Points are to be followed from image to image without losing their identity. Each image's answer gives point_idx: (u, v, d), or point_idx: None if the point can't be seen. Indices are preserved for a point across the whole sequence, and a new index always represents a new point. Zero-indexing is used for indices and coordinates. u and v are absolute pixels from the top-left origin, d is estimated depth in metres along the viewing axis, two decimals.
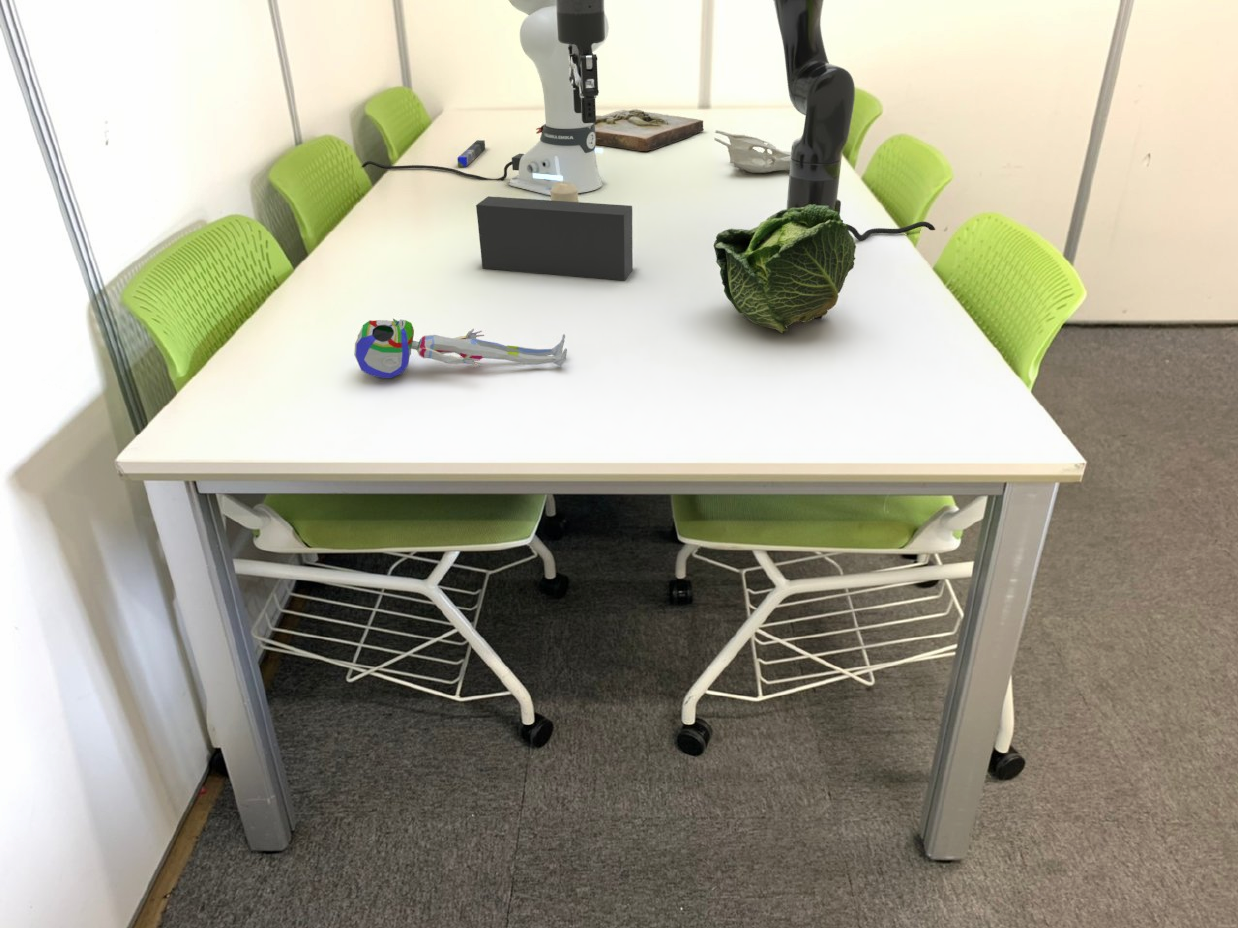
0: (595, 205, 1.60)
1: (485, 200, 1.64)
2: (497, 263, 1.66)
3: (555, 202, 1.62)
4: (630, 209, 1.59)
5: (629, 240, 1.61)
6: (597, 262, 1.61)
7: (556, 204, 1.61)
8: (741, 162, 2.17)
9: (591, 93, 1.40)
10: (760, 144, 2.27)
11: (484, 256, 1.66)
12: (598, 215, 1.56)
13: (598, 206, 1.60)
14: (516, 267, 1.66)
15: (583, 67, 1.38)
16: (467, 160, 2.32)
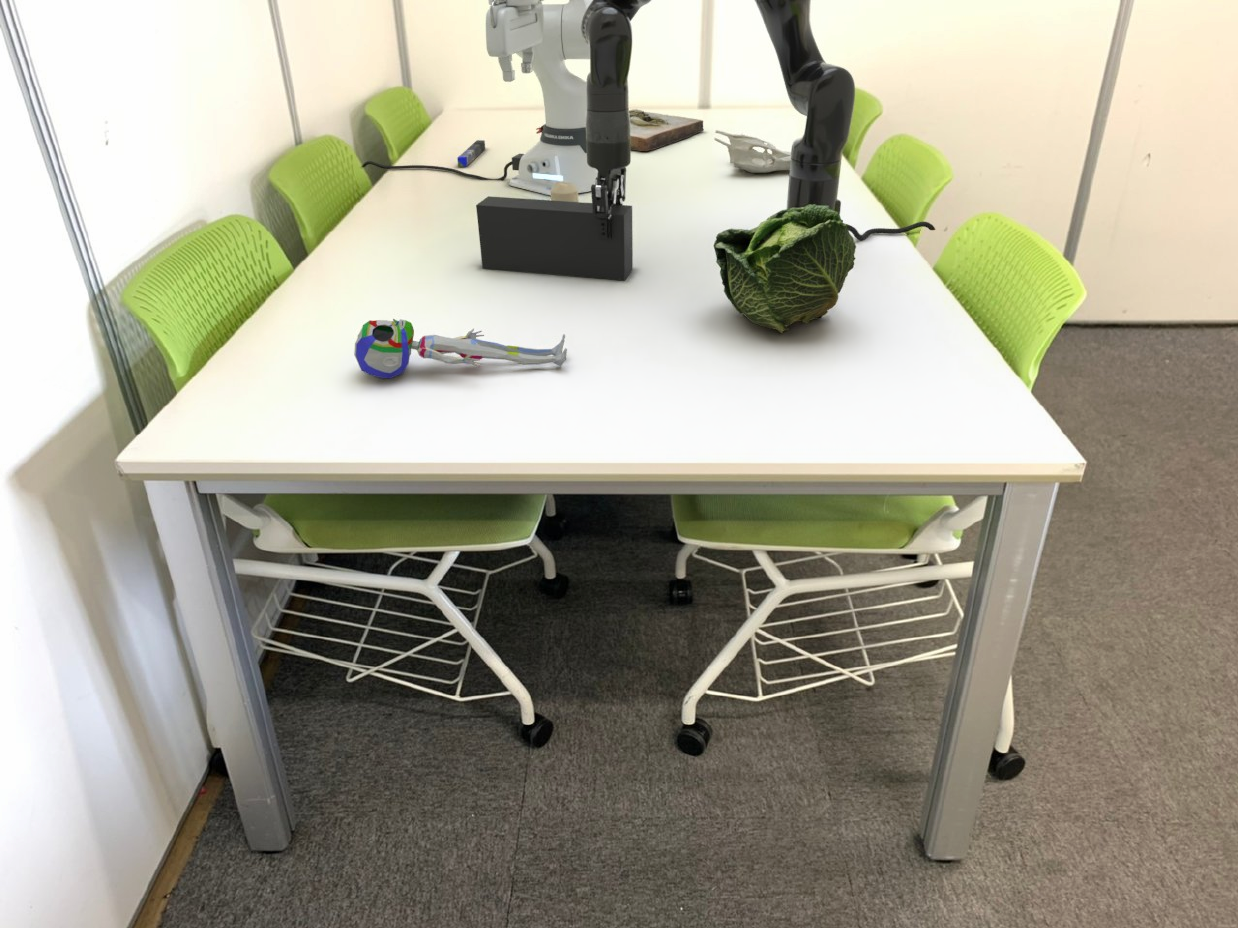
0: None
1: (485, 200, 1.64)
2: (498, 263, 1.66)
3: (555, 202, 1.62)
4: (630, 209, 1.59)
5: (629, 240, 1.61)
6: (597, 262, 1.61)
7: (556, 204, 1.61)
8: (741, 162, 2.17)
9: (600, 216, 1.53)
10: (760, 144, 2.27)
11: (484, 256, 1.66)
12: None
13: None
14: (516, 267, 1.66)
15: (593, 196, 1.51)
16: (467, 160, 2.32)
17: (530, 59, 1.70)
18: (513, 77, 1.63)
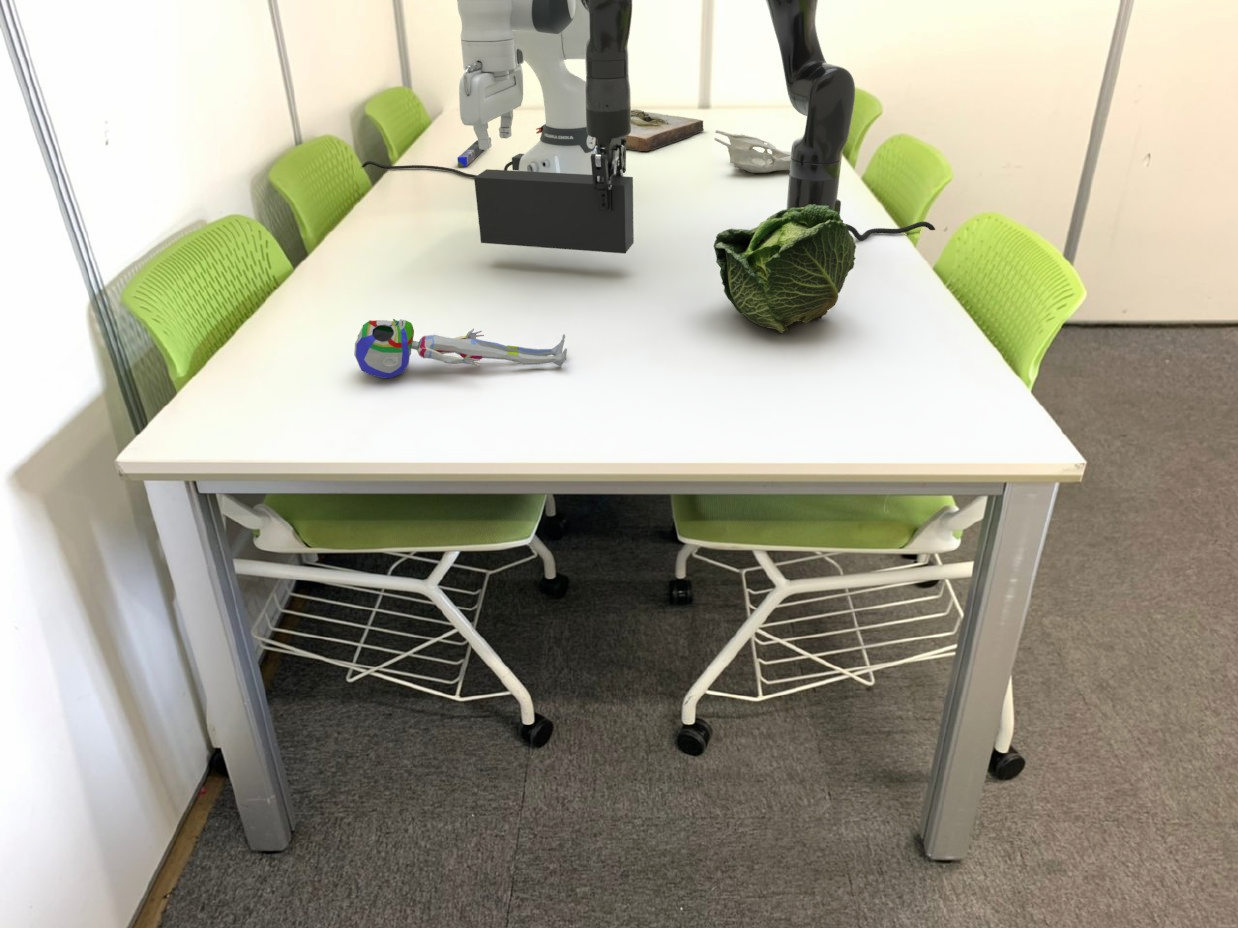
0: None
1: (483, 173, 1.61)
2: (496, 238, 1.64)
3: (554, 174, 1.59)
4: (631, 180, 1.56)
5: (630, 212, 1.58)
6: (597, 235, 1.58)
7: (555, 176, 1.58)
8: (741, 162, 2.17)
9: (601, 187, 1.50)
10: (760, 144, 2.27)
11: (483, 230, 1.64)
12: None
13: None
14: (515, 241, 1.63)
15: (593, 165, 1.48)
16: (467, 160, 2.32)
17: (508, 123, 1.61)
18: (489, 145, 1.54)
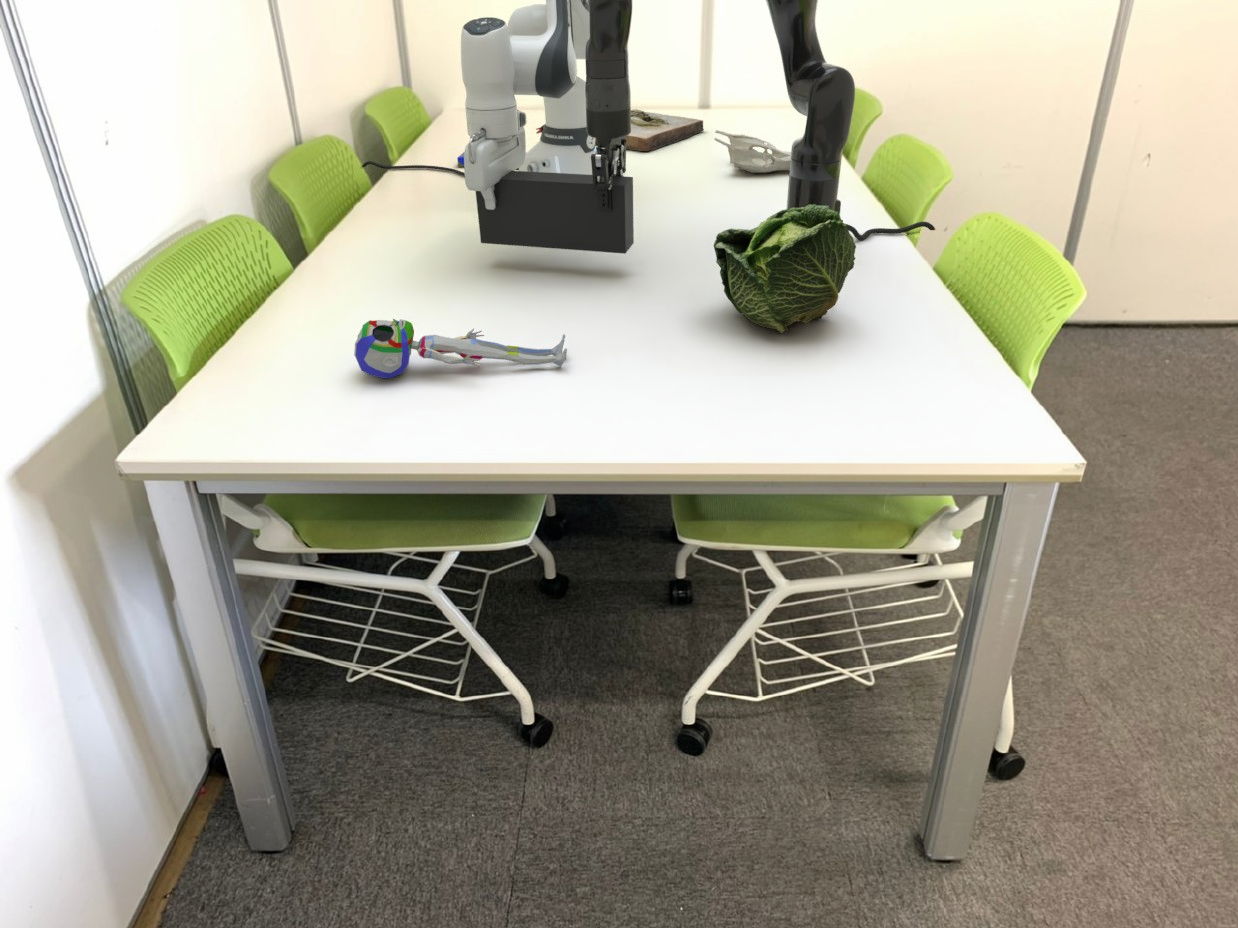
0: None
1: None
2: (496, 238, 1.64)
3: (554, 174, 1.59)
4: (631, 180, 1.56)
5: (630, 212, 1.58)
6: (597, 235, 1.58)
7: (555, 176, 1.58)
8: (741, 162, 2.17)
9: (601, 187, 1.50)
10: (760, 144, 2.27)
11: (483, 230, 1.64)
12: None
13: None
14: (515, 241, 1.63)
15: (593, 165, 1.48)
16: None
17: None
18: (496, 205, 1.60)
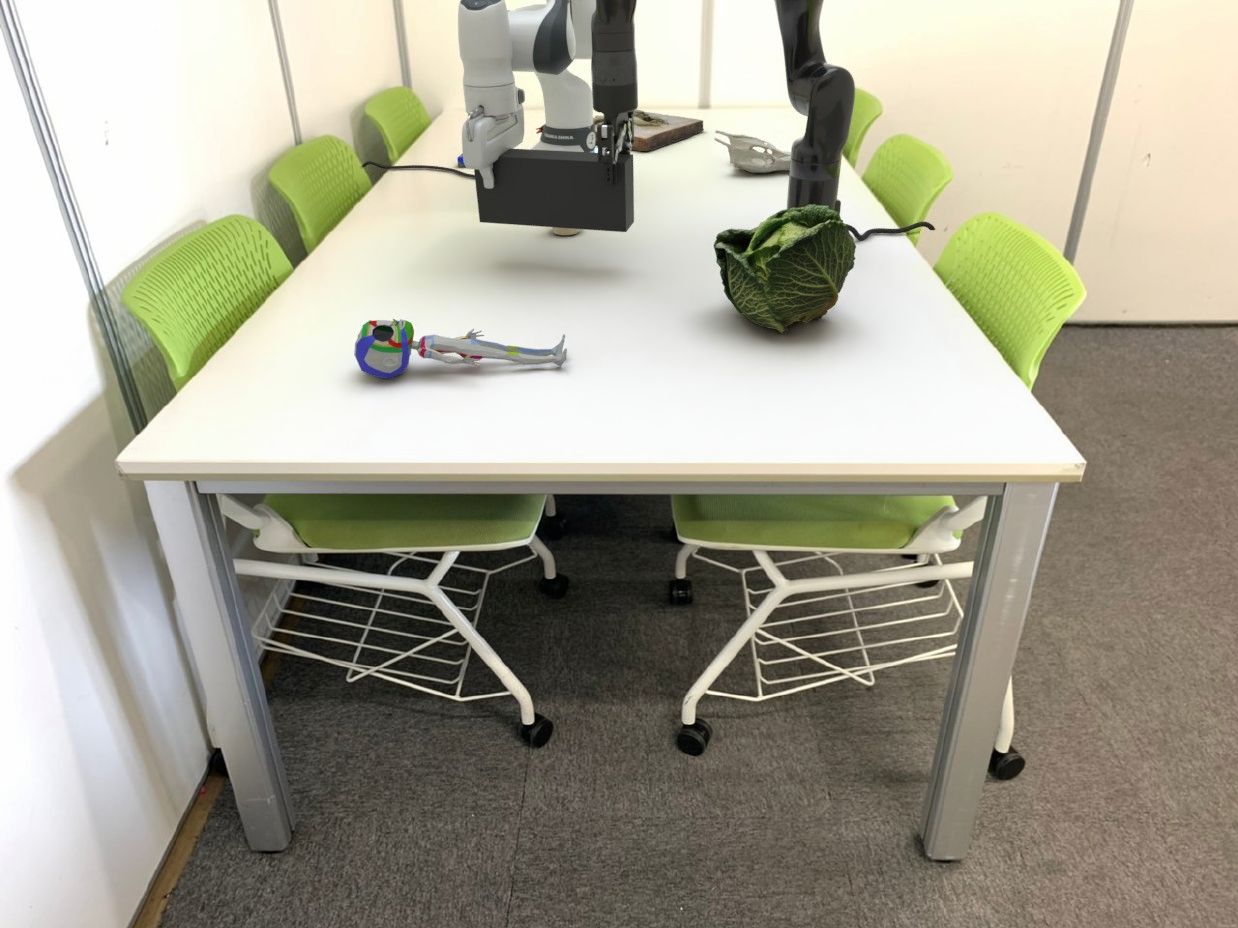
0: (595, 154, 1.56)
1: None
2: (495, 217, 1.62)
3: (554, 152, 1.58)
4: (631, 158, 1.54)
5: (630, 190, 1.57)
6: (597, 214, 1.57)
7: (555, 154, 1.56)
8: (741, 162, 2.17)
9: (605, 160, 1.47)
10: (760, 144, 2.27)
11: (481, 209, 1.62)
12: (599, 164, 1.52)
13: None
14: (515, 220, 1.61)
15: (598, 136, 1.45)
16: None
17: None
18: (494, 184, 1.58)
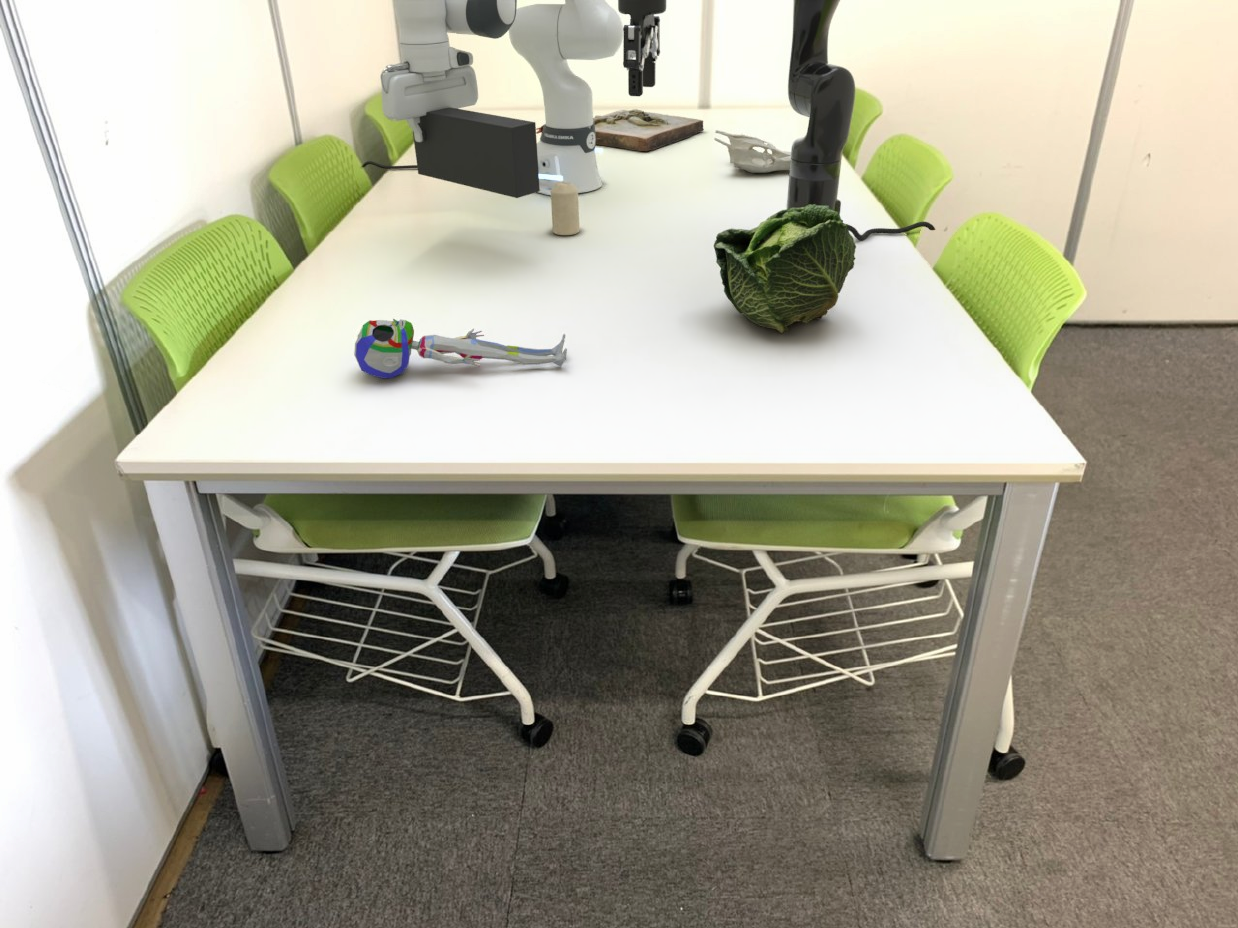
0: (505, 118, 1.59)
1: None
2: (428, 170, 1.72)
3: (477, 113, 1.63)
4: (530, 125, 1.55)
5: (529, 158, 1.58)
6: (495, 176, 1.60)
7: (473, 115, 1.62)
8: (741, 162, 2.17)
9: (631, 65, 1.38)
10: (760, 144, 2.27)
11: (418, 162, 1.72)
12: (493, 126, 1.55)
13: (505, 119, 1.58)
14: (440, 175, 1.70)
15: (625, 37, 1.36)
16: None
17: None
18: (423, 138, 1.67)
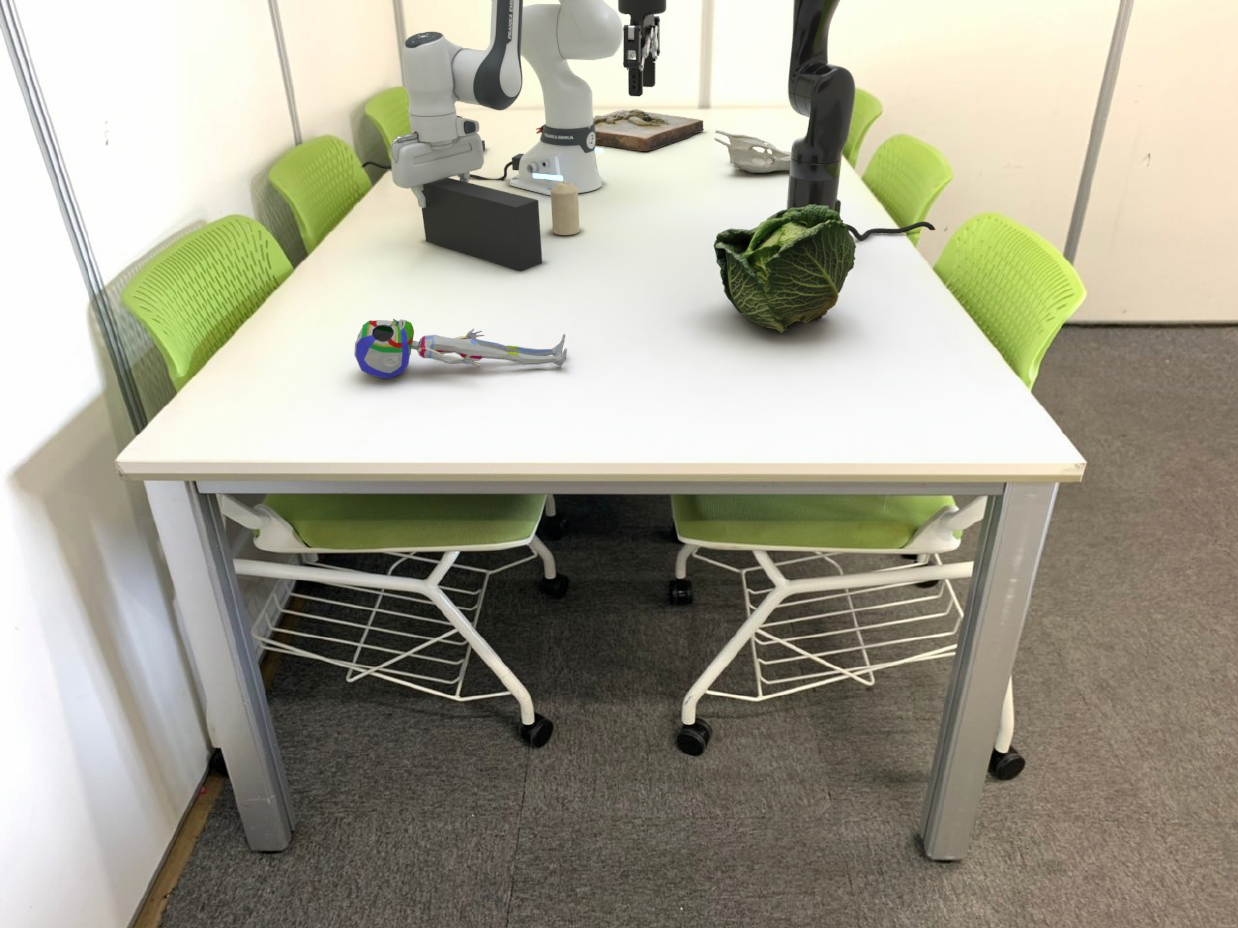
0: (509, 195, 1.66)
1: None
2: (435, 238, 1.79)
3: (482, 188, 1.71)
4: (533, 203, 1.63)
5: (532, 233, 1.65)
6: (500, 250, 1.67)
7: (479, 190, 1.70)
8: (741, 162, 2.17)
9: (631, 65, 1.38)
10: (760, 144, 2.27)
11: (426, 230, 1.80)
12: (498, 204, 1.63)
13: (509, 196, 1.66)
14: (447, 244, 1.77)
15: (625, 37, 1.36)
16: None
17: None
18: (426, 204, 1.73)
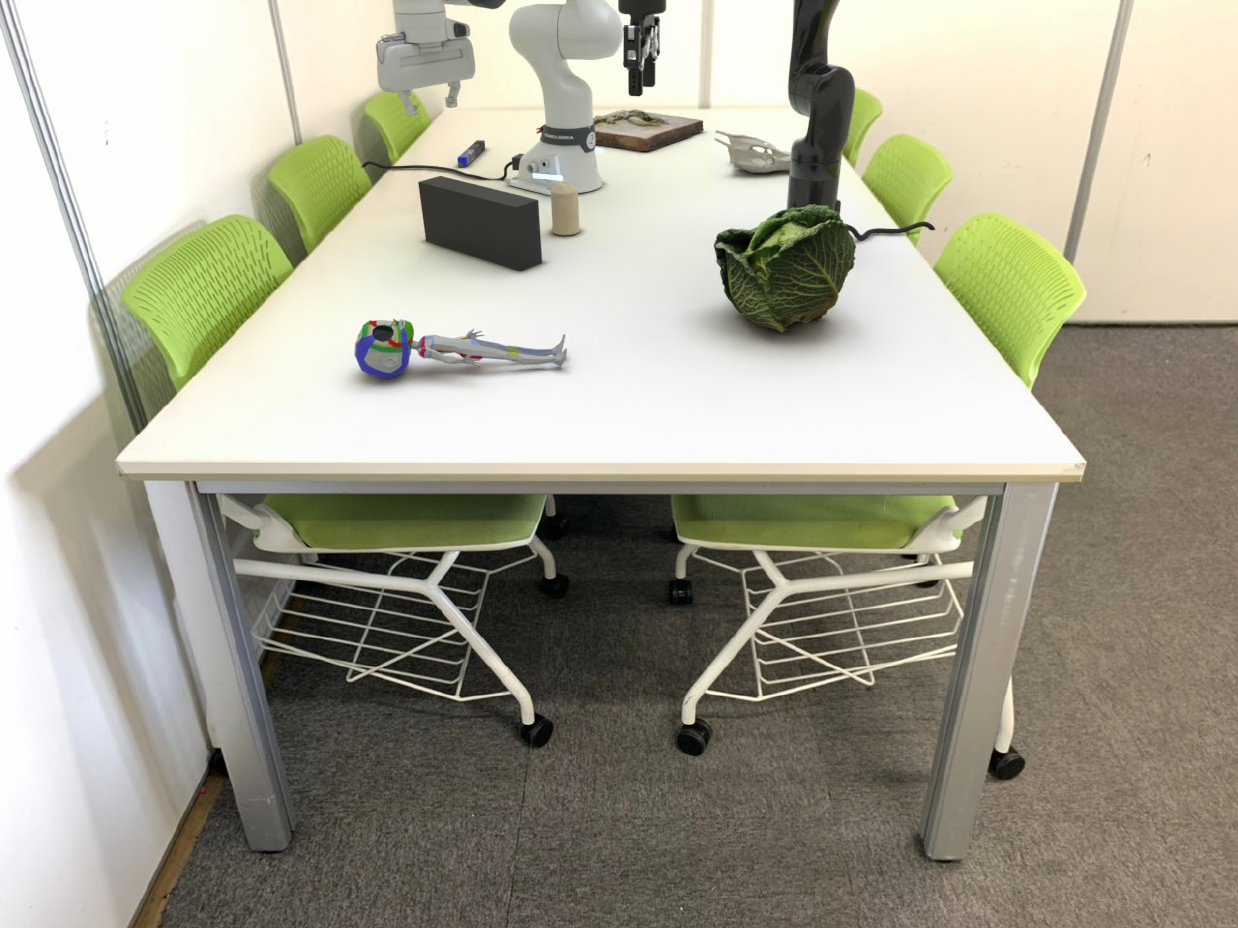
0: (509, 195, 1.66)
1: (431, 179, 1.77)
2: (435, 238, 1.79)
3: (482, 188, 1.71)
4: (533, 203, 1.63)
5: (532, 233, 1.65)
6: (500, 250, 1.67)
7: (479, 190, 1.70)
8: (741, 162, 2.17)
9: (631, 65, 1.38)
10: (760, 144, 2.27)
11: (426, 230, 1.80)
12: (498, 204, 1.63)
13: (509, 196, 1.66)
14: (447, 244, 1.77)
15: (625, 37, 1.36)
16: (467, 160, 2.32)
17: (454, 94, 1.70)
18: (414, 112, 1.64)
